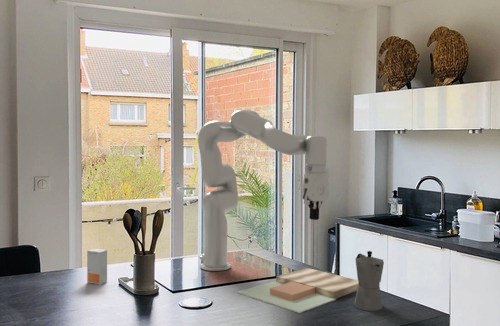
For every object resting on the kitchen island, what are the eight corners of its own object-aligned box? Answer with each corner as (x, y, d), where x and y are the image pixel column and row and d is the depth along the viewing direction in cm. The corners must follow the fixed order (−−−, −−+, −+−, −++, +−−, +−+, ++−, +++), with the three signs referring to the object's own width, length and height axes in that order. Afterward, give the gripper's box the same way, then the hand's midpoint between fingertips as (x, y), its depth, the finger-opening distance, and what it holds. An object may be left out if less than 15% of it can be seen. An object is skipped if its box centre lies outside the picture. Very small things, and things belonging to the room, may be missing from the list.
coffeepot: (391, 312, 163) (393, 255, 162) (363, 314, 160) (365, 256, 159) (369, 297, 178) (370, 244, 177) (343, 298, 175) (344, 245, 174)
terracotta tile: (269, 294, 178) (269, 288, 178) (292, 287, 187) (292, 281, 187) (292, 300, 171) (292, 294, 171) (314, 293, 180) (314, 287, 180)
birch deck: (276, 282, 193) (276, 276, 193) (307, 274, 206) (307, 267, 206) (333, 299, 175) (333, 291, 175) (363, 288, 187) (363, 281, 187)
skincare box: (86, 282, 191) (86, 250, 190) (94, 279, 194) (94, 248, 194) (100, 284, 188) (100, 252, 188) (107, 281, 192) (107, 249, 192)
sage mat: (237, 292, 181) (237, 291, 181) (274, 282, 194) (274, 281, 194) (299, 313, 161) (299, 312, 161) (336, 300, 174) (336, 298, 174)
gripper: (309, 170, 183) (308, 222, 184) (336, 169, 193) (334, 218, 194) (294, 169, 188) (292, 219, 189) (320, 168, 198) (319, 215, 199)
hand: (314, 219), depth 192 cm, fingers closed
